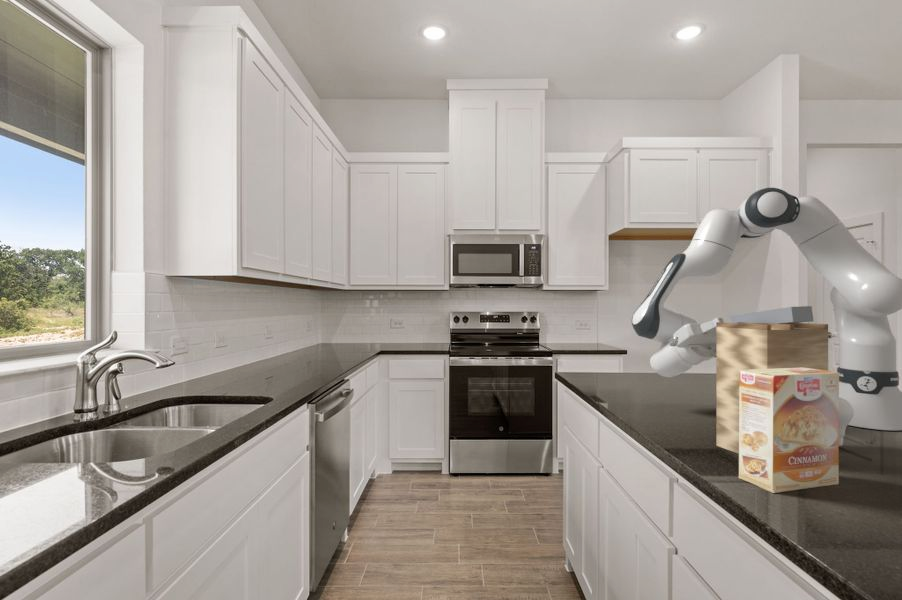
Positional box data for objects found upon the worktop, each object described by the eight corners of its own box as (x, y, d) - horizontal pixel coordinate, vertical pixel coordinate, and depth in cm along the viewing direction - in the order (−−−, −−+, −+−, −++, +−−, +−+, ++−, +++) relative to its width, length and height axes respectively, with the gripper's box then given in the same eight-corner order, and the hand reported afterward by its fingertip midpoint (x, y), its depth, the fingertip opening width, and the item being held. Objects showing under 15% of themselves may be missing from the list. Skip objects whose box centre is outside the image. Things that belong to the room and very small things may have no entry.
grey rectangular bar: (732, 328, 110) (730, 315, 111) (749, 327, 110) (747, 315, 111) (793, 321, 91) (791, 306, 91) (813, 321, 91) (811, 306, 91)
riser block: (716, 445, 101) (716, 322, 101) (772, 440, 105) (772, 321, 106) (767, 464, 90) (767, 324, 90) (828, 456, 94) (828, 324, 94)
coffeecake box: (774, 494, 75) (774, 374, 76) (736, 478, 82) (736, 368, 82) (841, 485, 79) (841, 371, 80) (800, 470, 86) (800, 366, 86)
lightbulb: (821, 448, 99) (820, 397, 99) (814, 441, 105) (814, 392, 105) (857, 453, 96) (857, 400, 96) (849, 445, 102) (849, 395, 102)
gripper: (660, 334, 121) (696, 308, 109) (722, 333, 126) (763, 309, 115) (668, 356, 118) (706, 332, 106) (732, 354, 123) (775, 332, 112)
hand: (736, 320), depth 111 cm, fingers open, 8 cm apart
